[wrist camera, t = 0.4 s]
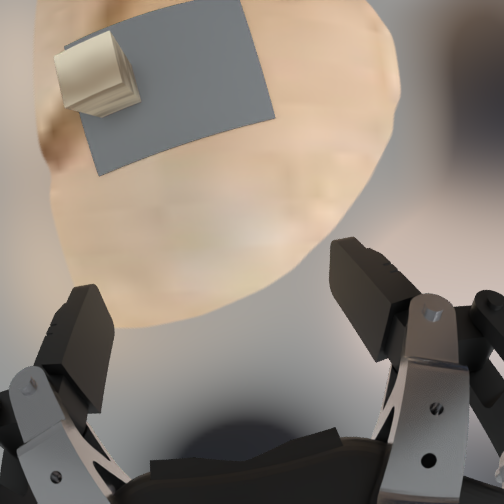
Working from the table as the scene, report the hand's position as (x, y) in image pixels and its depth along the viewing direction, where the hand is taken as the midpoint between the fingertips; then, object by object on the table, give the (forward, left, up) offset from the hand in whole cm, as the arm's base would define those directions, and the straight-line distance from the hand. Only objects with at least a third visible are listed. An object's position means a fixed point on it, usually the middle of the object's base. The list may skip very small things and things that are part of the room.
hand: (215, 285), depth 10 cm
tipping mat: (-13, +1, -27) cm, 30 cm away
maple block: (-13, -5, -27) cm, 30 cm away
